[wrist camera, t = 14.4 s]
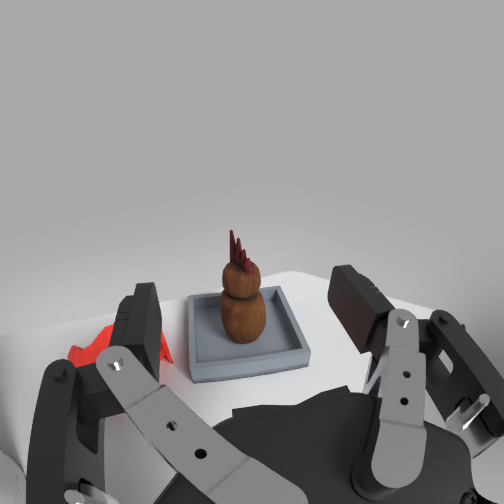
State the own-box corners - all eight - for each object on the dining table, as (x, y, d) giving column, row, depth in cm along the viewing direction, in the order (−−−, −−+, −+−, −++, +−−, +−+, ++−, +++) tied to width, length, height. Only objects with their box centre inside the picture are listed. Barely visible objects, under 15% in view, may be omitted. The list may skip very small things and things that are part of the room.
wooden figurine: (219, 321, 40) (210, 226, 33) (257, 315, 41) (257, 221, 34) (227, 354, 34) (217, 252, 27) (270, 346, 35) (274, 245, 28)
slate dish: (193, 383, 30) (189, 369, 29) (191, 310, 43) (188, 295, 42) (307, 366, 33) (311, 351, 31) (279, 300, 45) (279, 285, 44)
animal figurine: (74, 352, 33) (61, 328, 31) (161, 329, 39) (153, 304, 37) (76, 413, 24) (57, 390, 22) (182, 386, 30) (173, 361, 28)
